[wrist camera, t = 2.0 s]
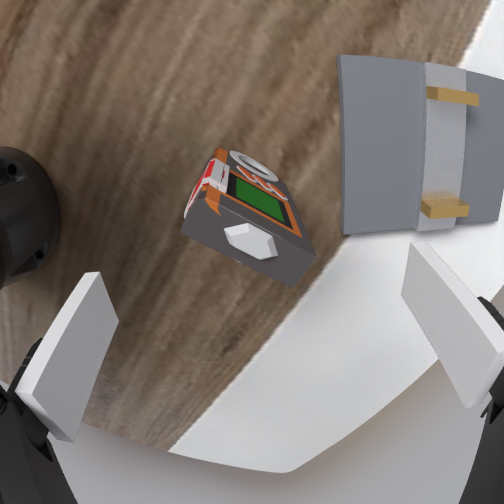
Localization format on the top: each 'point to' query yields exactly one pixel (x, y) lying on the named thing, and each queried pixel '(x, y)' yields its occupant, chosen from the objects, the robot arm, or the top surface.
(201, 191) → the electronic device
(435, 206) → the rail
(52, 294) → the top surface
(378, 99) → the panel
